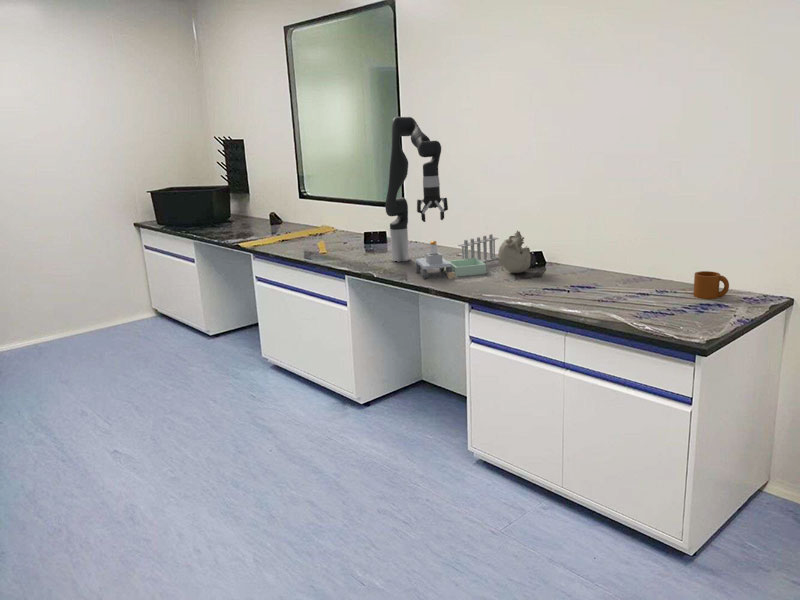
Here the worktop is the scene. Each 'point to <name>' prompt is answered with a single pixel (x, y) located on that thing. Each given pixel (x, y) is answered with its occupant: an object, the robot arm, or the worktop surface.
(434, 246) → the stop pin
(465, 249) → the test tube rack
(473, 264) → the tray
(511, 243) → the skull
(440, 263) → the grey stepped platform
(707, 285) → the mug
